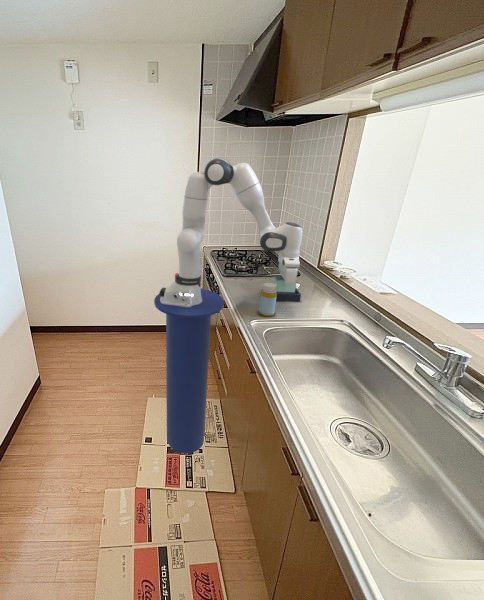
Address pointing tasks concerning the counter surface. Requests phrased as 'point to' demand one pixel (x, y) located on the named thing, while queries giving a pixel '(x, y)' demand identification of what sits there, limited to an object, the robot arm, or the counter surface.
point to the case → (280, 285)
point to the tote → (289, 296)
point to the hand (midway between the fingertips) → (284, 286)
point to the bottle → (268, 299)
